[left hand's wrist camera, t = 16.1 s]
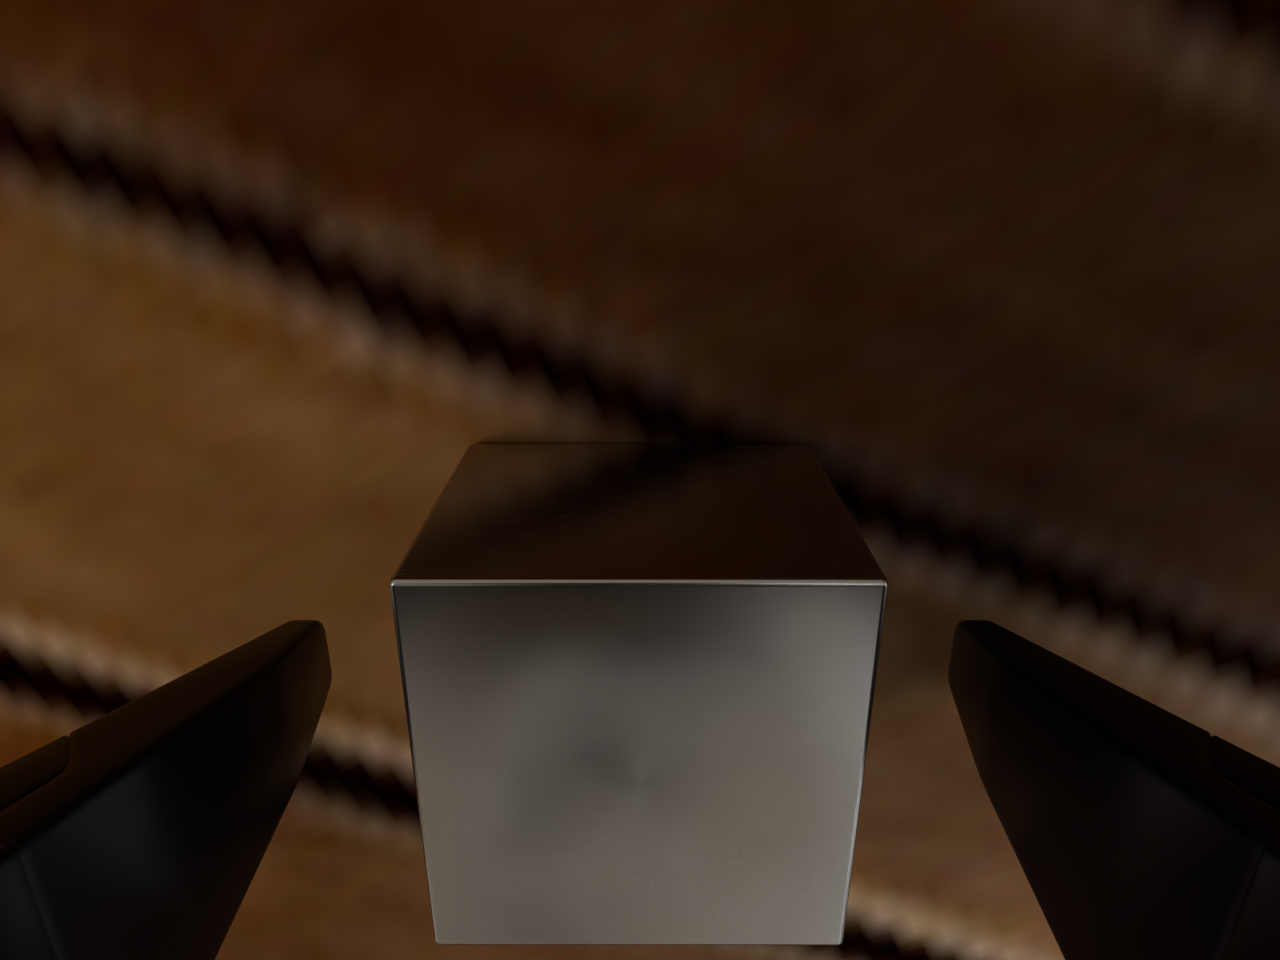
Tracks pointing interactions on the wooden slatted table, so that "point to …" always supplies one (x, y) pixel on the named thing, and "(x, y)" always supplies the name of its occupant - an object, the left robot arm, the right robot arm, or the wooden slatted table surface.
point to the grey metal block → (638, 694)
